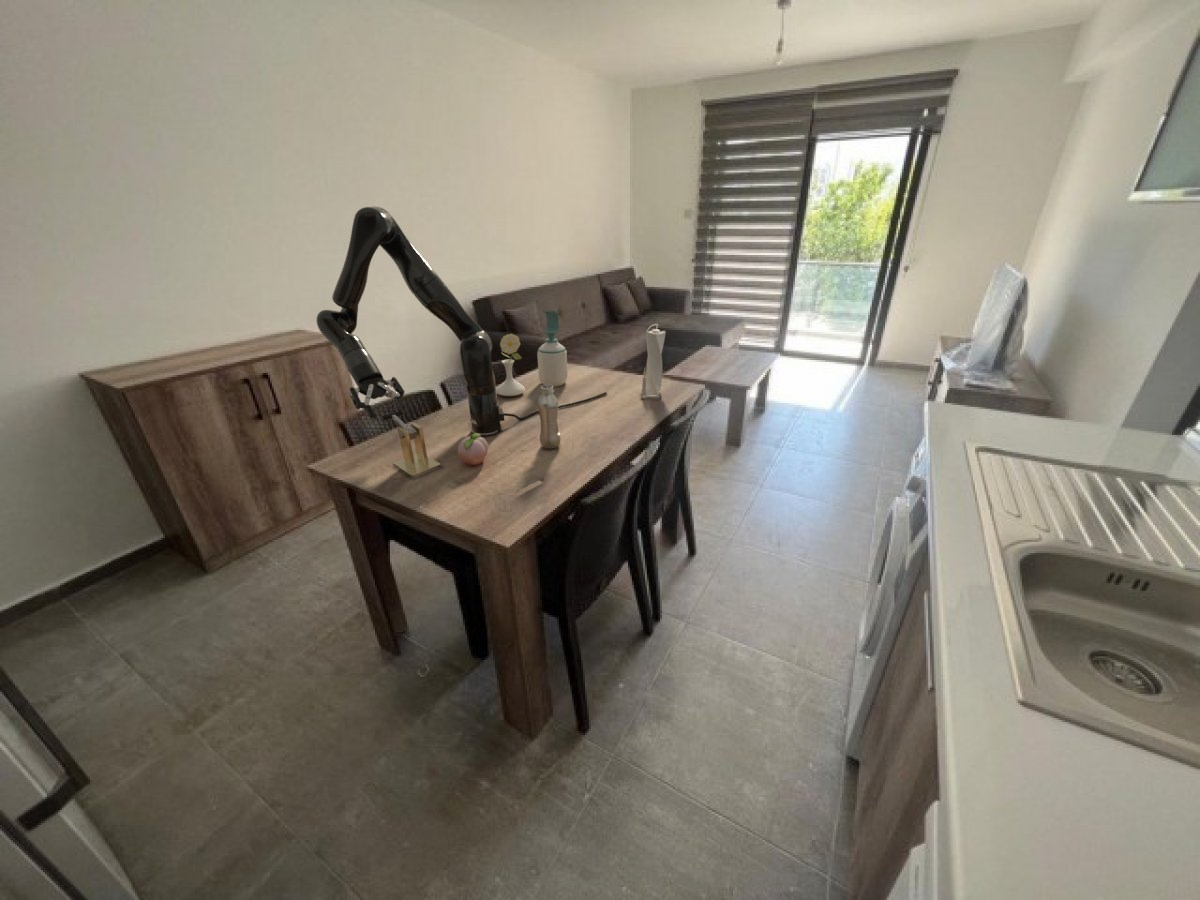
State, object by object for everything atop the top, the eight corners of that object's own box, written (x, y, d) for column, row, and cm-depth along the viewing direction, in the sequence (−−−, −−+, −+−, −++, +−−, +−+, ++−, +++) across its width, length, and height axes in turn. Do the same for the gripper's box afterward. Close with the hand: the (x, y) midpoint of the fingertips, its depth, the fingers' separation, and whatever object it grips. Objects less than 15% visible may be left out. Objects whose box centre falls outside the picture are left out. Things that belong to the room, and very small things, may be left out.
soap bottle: (535, 387, 202) (530, 312, 188) (543, 378, 213) (539, 306, 199) (564, 388, 200) (561, 312, 186) (570, 379, 211) (568, 307, 197)
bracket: (393, 466, 140) (384, 427, 134) (421, 456, 146) (414, 417, 140) (412, 479, 133) (404, 438, 128) (441, 467, 139) (434, 427, 134)
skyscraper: (642, 392, 196) (645, 323, 184) (662, 392, 195) (666, 323, 183) (641, 399, 189) (643, 327, 176) (661, 400, 188) (666, 328, 175)
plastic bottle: (564, 443, 153) (561, 384, 144) (555, 452, 148) (552, 391, 139) (545, 440, 155) (542, 381, 146) (536, 449, 150) (532, 389, 141)
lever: (381, 420, 138) (380, 413, 137) (400, 414, 142) (400, 408, 141) (403, 442, 133) (403, 435, 131) (423, 435, 137) (423, 429, 135)
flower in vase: (490, 395, 194) (484, 333, 183) (510, 387, 202) (505, 328, 191) (514, 401, 187) (508, 338, 176) (533, 393, 196) (529, 332, 184)
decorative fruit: (465, 457, 145) (460, 427, 141) (492, 457, 145) (488, 427, 140) (456, 472, 137) (451, 441, 132) (484, 473, 136) (480, 441, 132)
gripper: (339, 366, 134) (367, 414, 133) (388, 356, 144) (414, 400, 142) (336, 380, 140) (362, 426, 138) (383, 369, 149) (408, 412, 148)
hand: (389, 413), depth 140 cm, fingers open, 8 cm apart
